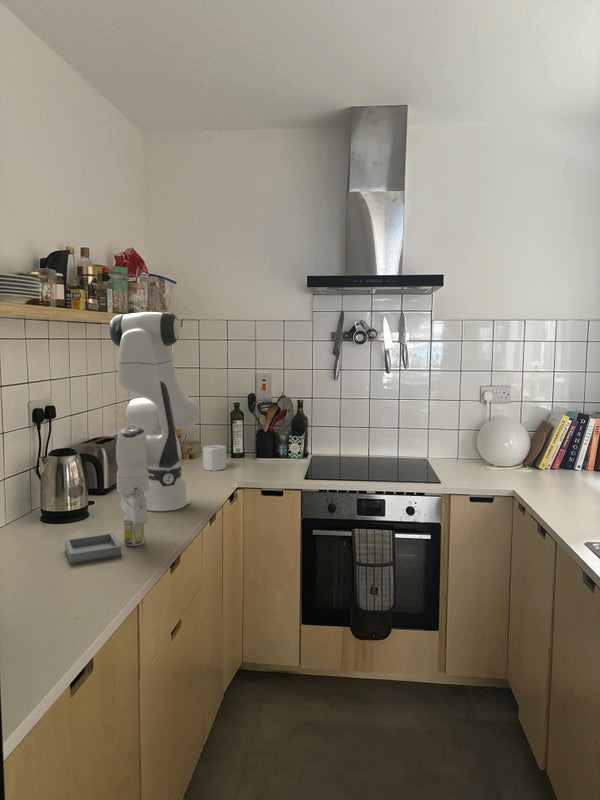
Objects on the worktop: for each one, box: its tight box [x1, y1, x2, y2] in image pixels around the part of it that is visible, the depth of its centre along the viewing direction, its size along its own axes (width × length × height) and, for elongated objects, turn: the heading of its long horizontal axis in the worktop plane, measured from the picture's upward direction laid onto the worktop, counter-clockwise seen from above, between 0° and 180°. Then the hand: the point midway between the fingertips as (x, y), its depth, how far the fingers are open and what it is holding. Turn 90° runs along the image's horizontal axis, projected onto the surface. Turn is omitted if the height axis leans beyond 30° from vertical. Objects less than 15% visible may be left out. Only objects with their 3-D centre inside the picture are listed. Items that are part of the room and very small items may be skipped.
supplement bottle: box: [123, 510, 145, 547], centre depth 175 cm, size 6×6×10 cm
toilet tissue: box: [202, 444, 227, 472], centre depth 277 cm, size 11×12×10 cm
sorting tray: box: [64, 532, 123, 566], centre depth 167 cm, size 13×13×3 cm
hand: (134, 531), depth 175 cm, fingers open, 8 cm apart
